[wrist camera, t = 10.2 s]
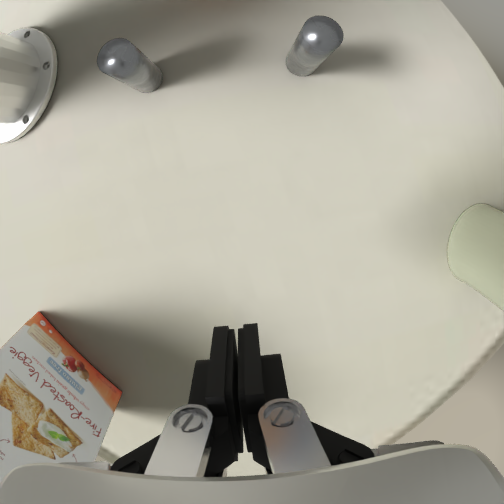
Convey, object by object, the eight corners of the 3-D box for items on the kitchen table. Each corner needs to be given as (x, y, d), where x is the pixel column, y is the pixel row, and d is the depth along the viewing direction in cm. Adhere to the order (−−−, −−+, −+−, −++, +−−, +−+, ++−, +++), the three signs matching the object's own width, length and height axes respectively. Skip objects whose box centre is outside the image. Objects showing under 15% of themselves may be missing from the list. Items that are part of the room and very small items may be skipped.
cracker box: (125, 389, 34) (72, 539, 14) (99, 406, 35) (47, 538, 15) (40, 306, 30) (-71, 428, 10) (20, 331, 31) (-74, 442, 11)
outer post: (287, 76, 24) (305, 50, 17) (284, 49, 23) (300, 14, 16) (317, 76, 24) (345, 51, 17) (313, 49, 23) (340, 16, 16)
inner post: (135, 95, 24) (97, 78, 16) (133, 68, 23) (96, 44, 16) (163, 89, 24) (134, 69, 16) (161, 62, 23) (133, 33, 16)
